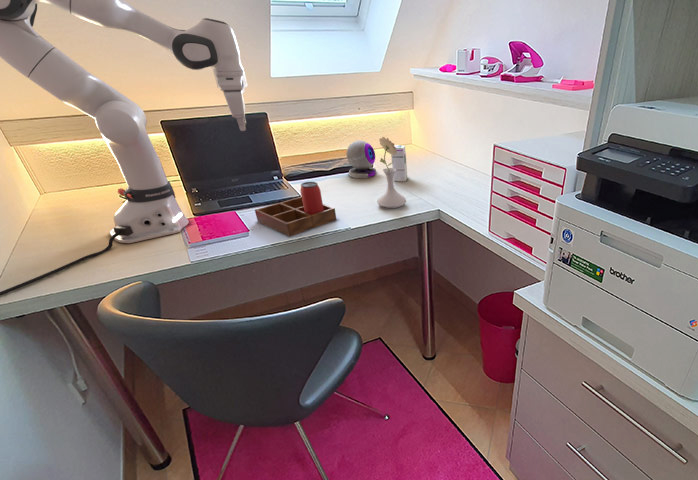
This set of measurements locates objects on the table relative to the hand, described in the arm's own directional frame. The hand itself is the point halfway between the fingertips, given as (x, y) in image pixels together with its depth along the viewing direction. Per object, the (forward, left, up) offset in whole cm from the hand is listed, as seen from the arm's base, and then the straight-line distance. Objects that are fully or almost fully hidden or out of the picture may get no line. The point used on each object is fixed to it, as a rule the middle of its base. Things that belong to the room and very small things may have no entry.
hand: (243, 127), depth 143 cm
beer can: (+7, -22, -28) cm, 37 cm away
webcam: (+56, +9, -29) cm, 64 cm away
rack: (+2, -18, -29) cm, 34 cm away
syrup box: (+62, -10, -29) cm, 69 cm away
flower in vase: (+36, -31, -29) cm, 56 cm away
